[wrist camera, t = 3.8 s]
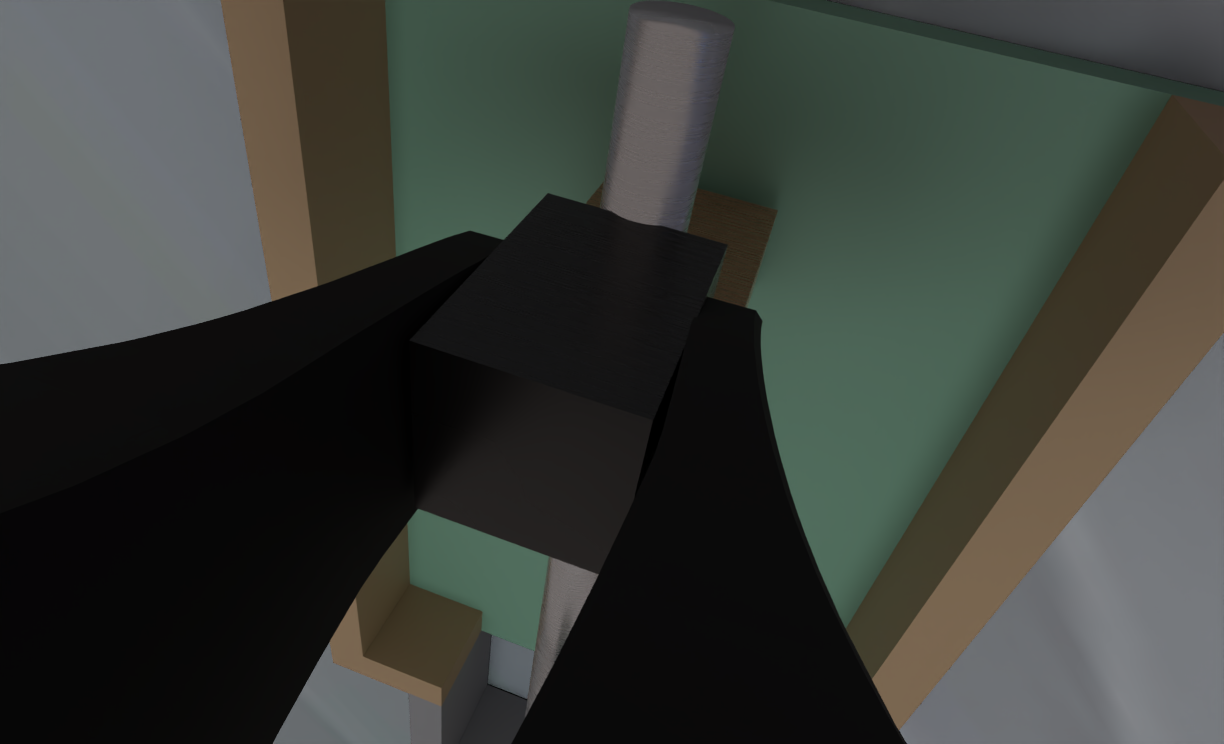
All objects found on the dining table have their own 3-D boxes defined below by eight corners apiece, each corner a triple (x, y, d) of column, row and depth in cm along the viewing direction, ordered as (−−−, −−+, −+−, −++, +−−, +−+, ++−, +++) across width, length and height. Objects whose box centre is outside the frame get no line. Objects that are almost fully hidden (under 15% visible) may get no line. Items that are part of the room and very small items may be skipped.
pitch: (353, -109, 15) (206, -85, 12) (1234, 94, 12) (1338, 191, 9) (401, 664, 33) (348, 753, 30) (760, 808, 30) (743, 920, 27)
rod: (653, -68, 12) (353, 84, 6) (850, -24, 12) (767, 197, 5) (544, 624, 25) (413, 914, 18) (637, 659, 24) (536, 970, 18)
